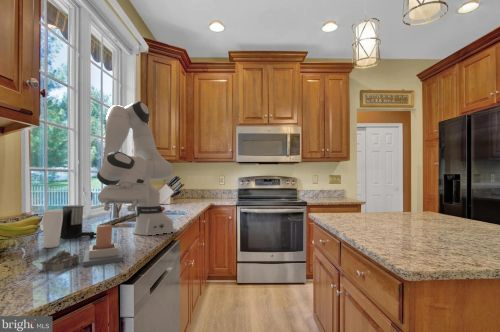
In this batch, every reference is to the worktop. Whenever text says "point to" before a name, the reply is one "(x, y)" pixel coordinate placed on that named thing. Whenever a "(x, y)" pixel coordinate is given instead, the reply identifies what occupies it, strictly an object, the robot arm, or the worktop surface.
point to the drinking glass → (52, 227)
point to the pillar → (104, 237)
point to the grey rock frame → (60, 261)
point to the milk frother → (73, 222)
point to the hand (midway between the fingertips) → (117, 210)
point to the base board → (102, 255)
